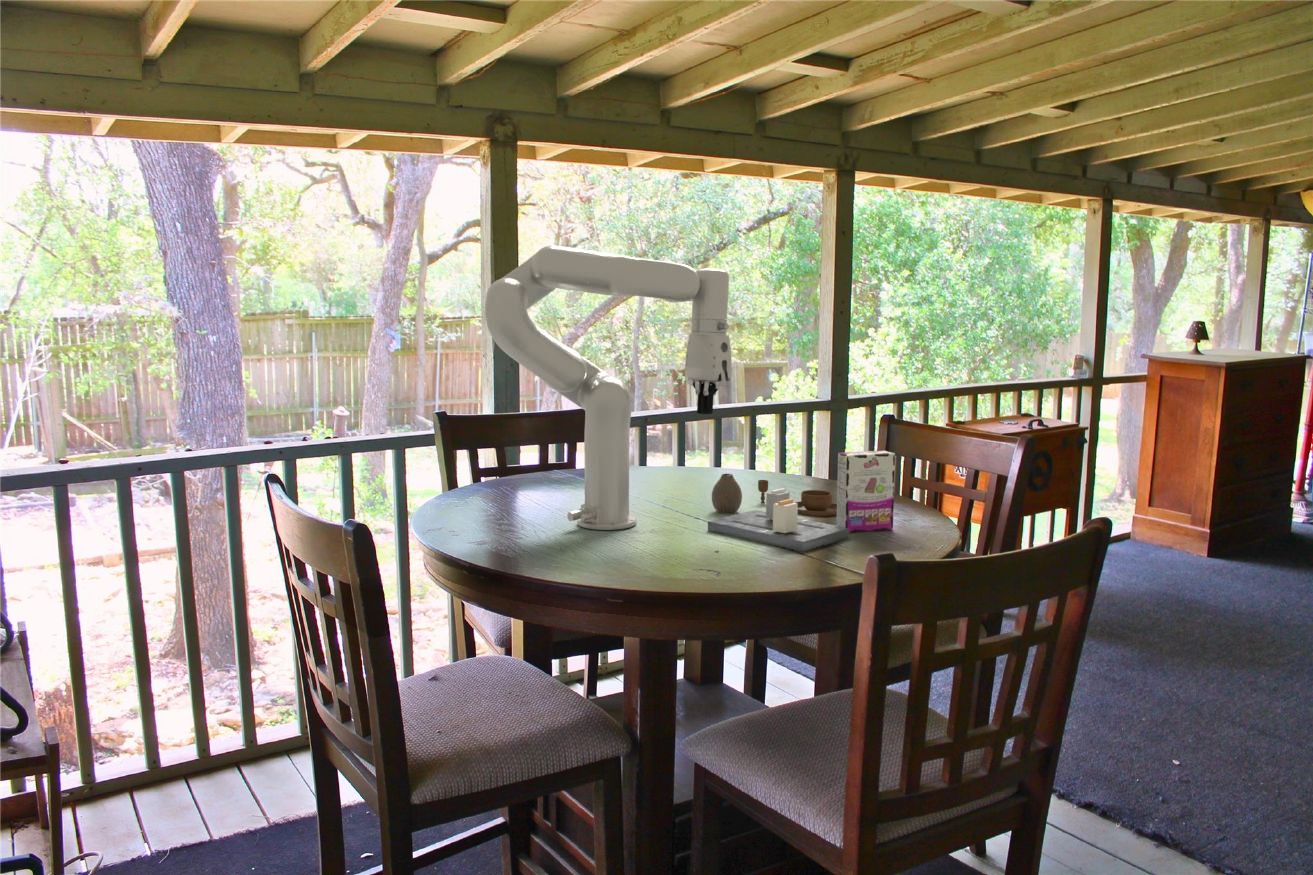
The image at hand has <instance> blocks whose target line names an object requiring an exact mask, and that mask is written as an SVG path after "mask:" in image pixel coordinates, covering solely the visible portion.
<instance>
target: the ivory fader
mask: <svg viewBox="0 0 1313 875" xmlns="http://www.w3.org/2000/svg"><path fill="white" fill-rule="evenodd" d="M798 509H799V508H798V503H794V499H793V498H789V499H787V500H783V501H779V502H778V503H775V504H773V531H777V532H781V533H788V532H791V531H795V530H797V518H798V515H799V514H798Z"/></svg>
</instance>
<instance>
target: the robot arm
mask: <svg viewBox="0 0 1313 875" xmlns="http://www.w3.org/2000/svg"><path fill="white" fill-rule="evenodd" d="M729 286H730V276H729V273H728V272H727V271H726V270H724V269H719V268H700V269H697V270H695V269H694V268H693V267H691V266H689V265H686V264H682V263H676V262H675V263H674V262H670V261H669V262H668V261H662V260H655V259H648V258H647V259H646V258H639V257H632V256H627V255H622V254H616V253H609V252H602V251H594V250H588V249H580V248H574V247H566V246H562V245H547V246H543V247H541V248H540V249H539V250H538V251H537V252H536V253H534V254H533V255H532V256H531V257H529V258H528V259H527V260H526V261H524V262H523V263H521V264H520V265H519V266H517V267H516V268H515V269H512V271H510V272H508V273H507V274H505V275H504V276H503V277H501V278H500V279H497V280H495V281H494V282H493V283H492V284H490V285H489V287H488V289H487V291H486V294H485V321H486V326H487V328H488V331H489V334H490V336H491V338H492V340H493V341H494V342H495V344H496V345H497V346H498V348H500V350H502V351H503V352H504V353H505V354H506V355H507V356H509V357H510V359H513V361H515V362H516V363H518V364H520V365H521V366H522V367H523V368H525V369H526V370H528V371H529V372H530V373H532V374H533V375H535V376H536V377H538V378H539V379H540V380H542V381H543V383H545V385H547V387H549V388H550V389H553V390H554V391H556V392H557V393H558V394H559V395H561V396H563V397H564V398H566V399H567V400H569V401H570V402H572V403H573V404H575V405H576V406H578V408H581V409H582V410H584V412H585V415H584V416H585V417H584V446H583V447H584V448H583V449H584V450H583V451H584V503H583V504H582V503H581V504H580V508H579V509H578V510H572V511H569V512H567V517H566V518H567V520H568V521H569V522H573V521H577V525H578V526H579V527H580V528H581V527H582V528H585V529H590V530H597V531H598V530H599V531H616V530H624V529H628V528H632V527H634V526H635V525H637V518H636V517H635V516H633V515H631V514H630V429H631V417H632V397H631V393H630V390H629V388H628V387H627V386H626V384H625V383H624V382H623V381H622V380H620V379H618V378H617V377H614V376H611V375H610V374H609V373H607V372H605V371H604V370H602V369H601V368H600V367H598V366H597V365H596V364H594V363H593V362H591V361H589V360H588V359H586V358H585V357H584V356H582V354H580V352H579V351H577V350H576V349H573V347H569V346H567V345H565V344H564V343H562V342H561V341H559V340H558V339H556V338H555V337H554V336H552V335H550V334H549V333H548V332H547V331H546V330H544V329H542V328H541V327H540V326H539V325H537V324H536V323H535V322H534V321H533V320H532V318H530V316H529V314H528V309H530V308H531V307H533V306H534V305H536V304H537V303H538V302H540V301H541V300H543V299H544V298H545V297H547V296H548V295H550V294H551V293H552V292H554V291H555V290H556V289H559V290H566V291H567V290H568V291H576V292H583V293H590V294H596V295H603V296H610V297H611V296H612V297H613V296H614V297H621V296H622V297H623V296H633V297H634V296H636V297H645V298H653V299H659V300H660V299H661V300H664V301H665V302H666V303H667V302H668V303H685V302H691V303H692V307H691V323H690V324H691V327H690V328H691V329H690V333H689V336H688V340H687V344H686V352H685V361H684V362H685V364H684V375H685V378H687V380H686V383H687V384H688V385H689V386H692V387H693V389H694V390H695V394H696V396H697V402H696V403H697V406H696V408H697V409H696V412H697V414H698V415H699V414H700V415H711V414H713V409H714V396H716V394H717V392H718V390H720V389H724V388H726V387H727V382H728V381H730V380H731V378H732V346H731V340H730V335H727V331H728V329H729V326H730V325H729V323H728V311H729V310H728V309H729V308H728V306H729V305H728V304H729Z"/></svg>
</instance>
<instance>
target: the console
mask: <svg viewBox="0 0 1313 875" xmlns="http://www.w3.org/2000/svg"><path fill="white" fill-rule="evenodd" d="M707 531H708V532H712V533H717V534H721V535H726V536H728V537H729V536H730V537H735V538H739V539H744V540H749V541H751V542H755V543H756V542H758V543H761V544H765V545H771V546H774V545H775V547H779V548H783V547H785V548H784V549H789V550H792V549H794V550H793V551H797V552H801V551H802V553H804V551H805V552H807V551H810V549H811V550H814V549H817V548H816V547H818V548H820V546H821V547H823V546H822V545H824V546H827V545H829V544H833V543H837V542H840V541H843V540H846V539H849V537H850V532H849V528H846V527H841V526H837V524H835V525H834V524H829V523H824V522H819V521H815V520H809V519H803V518H799V517H797V530H795V531H791V532H788V533H781V532H777V531H773V520H772V519H767V518H766V511H763V510H759V509H758V510H757V509H754V510H753V509H752V510H749V511H746V512H741V513H737V514H732V515H729V516H725V517H721V518H720V517H719V518H717V519H712V520H708V521H707ZM813 548H814V549H813Z"/></svg>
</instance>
